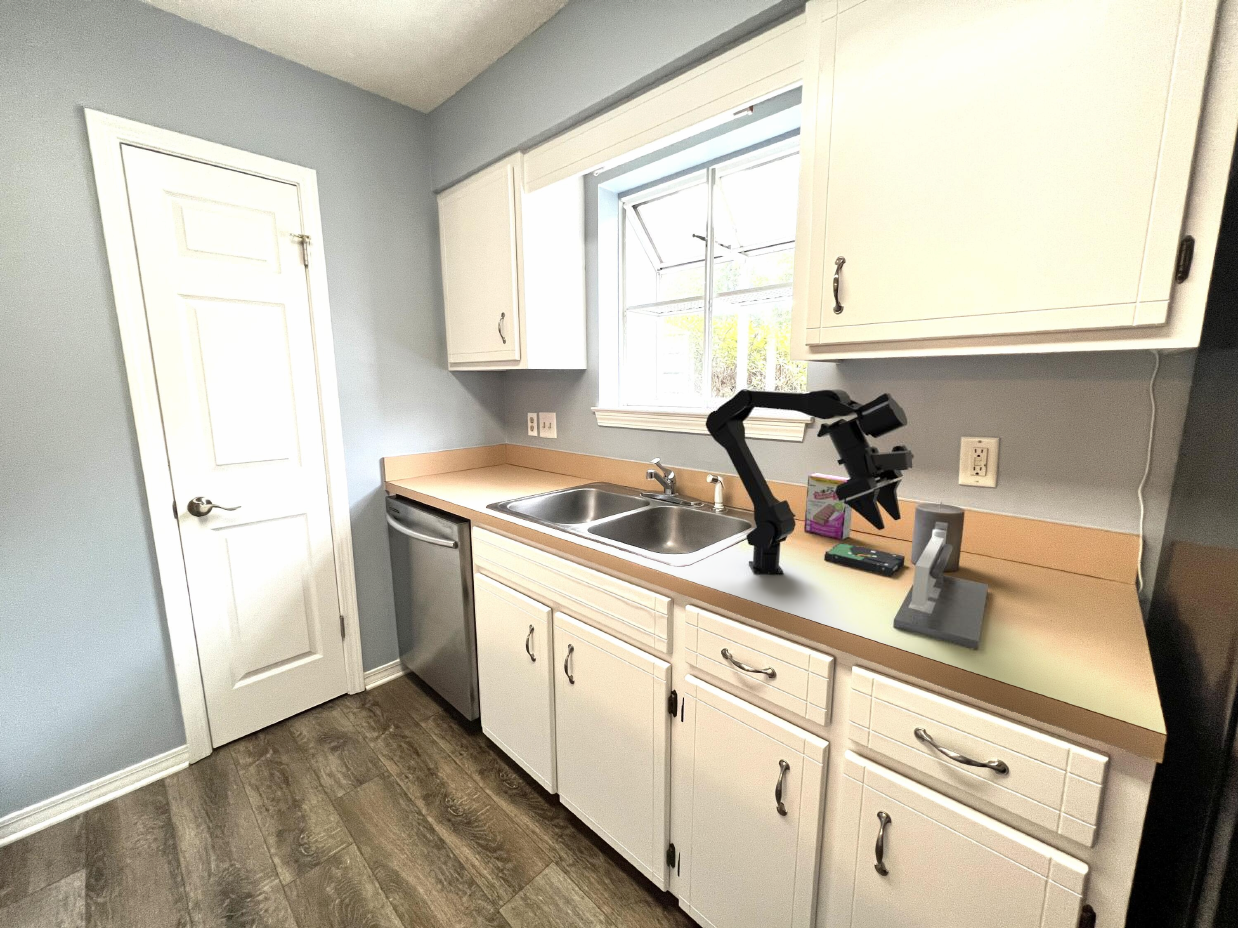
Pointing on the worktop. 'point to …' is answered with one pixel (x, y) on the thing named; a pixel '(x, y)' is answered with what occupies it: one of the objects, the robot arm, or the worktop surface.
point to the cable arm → (930, 567)
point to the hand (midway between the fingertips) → (890, 524)
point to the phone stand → (947, 610)
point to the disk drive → (865, 559)
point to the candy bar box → (826, 507)
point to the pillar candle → (926, 523)
